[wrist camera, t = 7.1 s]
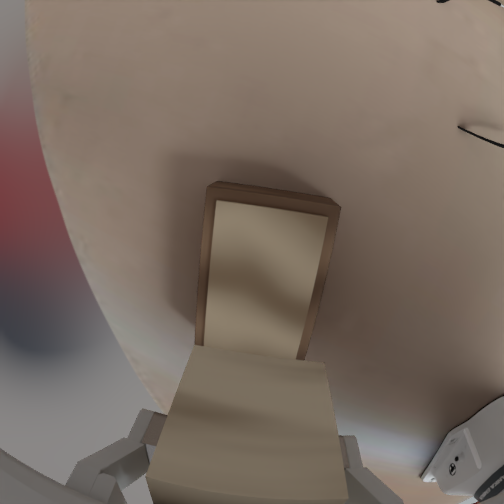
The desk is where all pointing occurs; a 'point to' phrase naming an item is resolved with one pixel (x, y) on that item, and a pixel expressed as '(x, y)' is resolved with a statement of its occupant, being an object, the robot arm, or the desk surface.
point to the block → (249, 434)
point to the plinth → (262, 268)
